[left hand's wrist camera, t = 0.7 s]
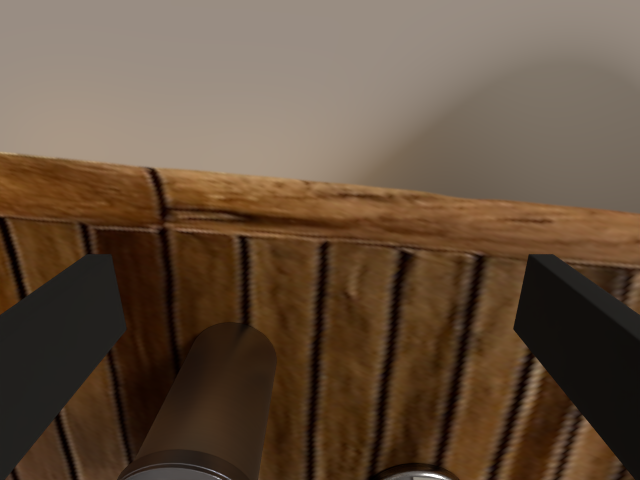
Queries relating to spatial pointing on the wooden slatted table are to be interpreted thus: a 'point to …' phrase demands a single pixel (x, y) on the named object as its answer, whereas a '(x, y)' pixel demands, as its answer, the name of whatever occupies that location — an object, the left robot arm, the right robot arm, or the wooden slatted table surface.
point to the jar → (219, 398)
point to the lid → (181, 467)
